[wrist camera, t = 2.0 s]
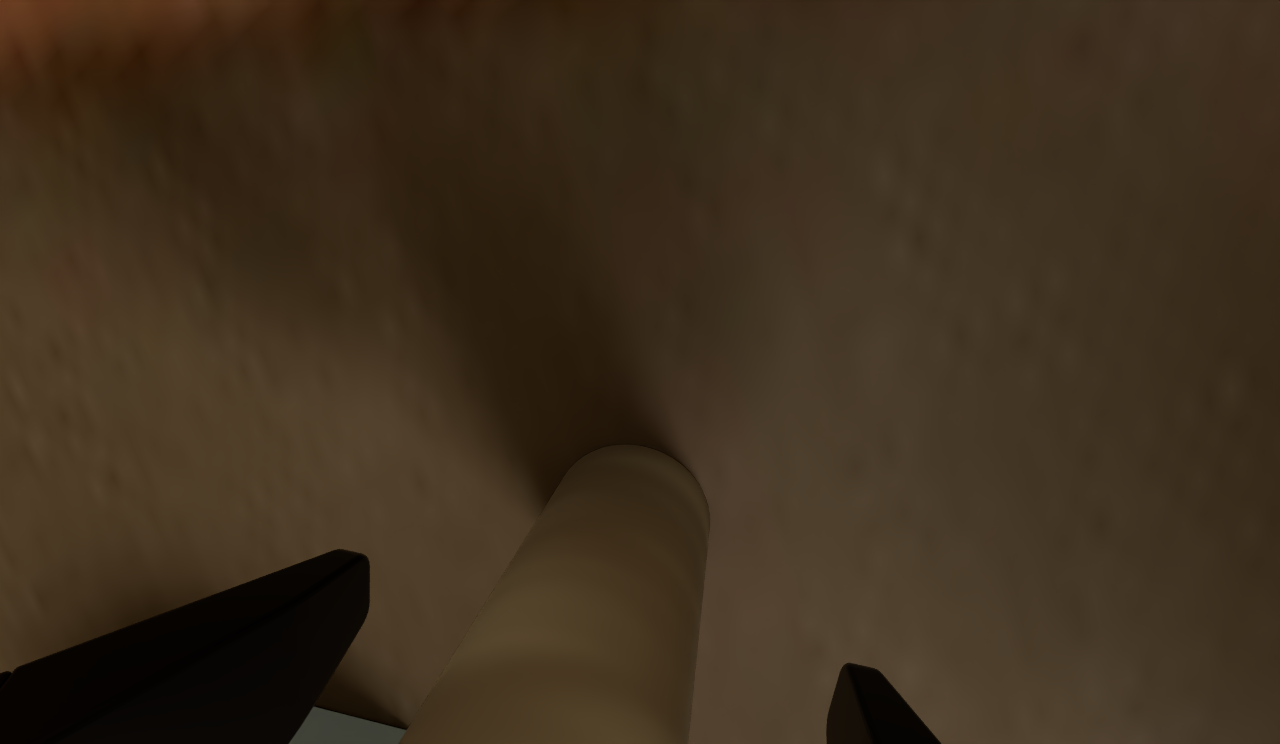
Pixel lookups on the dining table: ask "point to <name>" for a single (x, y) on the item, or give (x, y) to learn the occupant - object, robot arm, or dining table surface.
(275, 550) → the dining table surface
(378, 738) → the bead
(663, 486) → the beige wooden cylinder
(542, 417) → the dining table surface
